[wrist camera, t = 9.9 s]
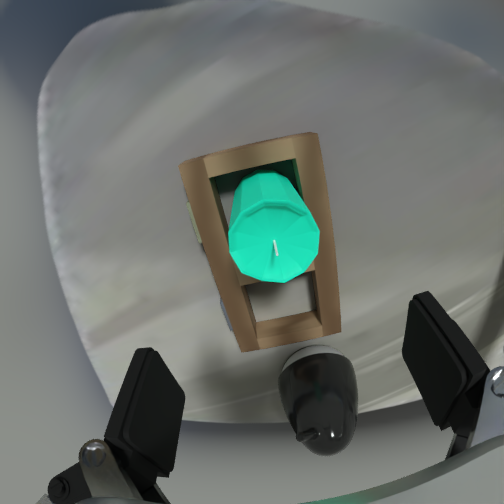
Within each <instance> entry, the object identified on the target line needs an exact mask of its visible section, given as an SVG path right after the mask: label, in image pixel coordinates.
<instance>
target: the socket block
mask: <svg viewBox="0 0 504 504" xmlns="http://www.w3.org/2000/svg"><path fill="white" fill-rule="evenodd" d="M288 159H292V164H293V168H294V173H295V178H296V184H297V189H298V194H299V196H300V197H301V199H302V200H303V202H304V203H305V205H306V206H307V208H308V209H309V211H310V212H311V214H312V216H313V218H314V220H315V222H316V224H317V226H318V228H319V231H320V234H319V247H318V254H317V256H316V257H315V258H314V260H313V261H312V263H311V264H310V265H309V267H308V268H307V270H306V271H305V272H308V271H311V272H312V279H313V286H314V293H315V300H316V308H317V310H314V311H309V312H305V313H300V314H296V315H291V316H286V317H281V318H277V319H272V320H266V321H261V322H256V320H255V317H254V313H253V310H252V307H251V303H250V300H249V297H248V293H247V290H246V286H245V285H247V284H252V283H257V282H262V281H261V280H258V279H256V278H253V277H251V276H248V275H245V274H243V273H241V271H240V270H239V268H238V266H237V265H236V263H235V261H234V260H233V258H232V256H231V255H230V253H229V236H228V231H229V228H228V224H227V221H226V217H225V214H224V210H223V207H222V203H221V200H220V196H219V192H218V189H217V185H216V182H215V178H214V176H218V175H222V174H226V173H230V172H234V171H238V170H242V169H247V168H251V167H255V166H260V165H264V164H269V163H274V162H278V161H283V160H288ZM178 167H179V170H180V173H181V177H182V180H183V183H184V187H185V190H186V193H187V196H188V202H187V203H186V205H187V208H188V211H189V214H190V217H191V220H192V223H193V227H194V230H195V233H196V236H197V239H198V242H199V243H203V246H204V249H205V252H206V255H207V258H208V261H209V264H210V267H211V270H212V273H213V276H214V279H215V281H216V284H217V287H218V290H219V293H220V296H221V299H220V304H221V307H222V310H223V312H224V315H225V318H226V320H227V323H228V326H229V328H230V331H231V330H233V331H234V334H235V336H236V339H237V342H238V344H239V347H240V350H241V352H248V351H254V350H259V349H265V348H271V347H276V346H281V345H286V344H291V343H296V342H301V341H305V340H310V339H314V338H319V337H323V336H327V335H331V334H335V333H339V332H341V315H340V299H339V285H338V274H337V263H336V253H335V244H334V235H333V227H332V219H331V211H330V204H329V197H328V191H327V184H326V178H325V172H324V166H323V160H322V155H321V149H320V144H319V139H318V134H317V133H312V132H307V133H302V134H296V135H291V136H285V137H280V138H275V139H270V140H266V141H261V142H256V143H252V144H248V145H243V146H239V147H235V148H231V149H227V150H223V151H219V152H215V153H211V154H208V155H204V156H200V157H197V158H193V159H190V160H187V161H184V162H183V163H181V164H180V165H179V166H178Z"/></svg>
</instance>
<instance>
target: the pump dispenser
mask: <svg viewBox="0 0 504 504" xmlns="http://www.w3.org/2000/svg"><path fill="white" fill-rule="evenodd" d="M278 388H279V394H280V397H281V401H282V404H283V407H284V410H285V413H286V415H287V417H288V420H289V422H290V424H291V426H292V428H293V429H294V431H295V433H296V439H297V441H299V442H302V443H303V444H304V445H305V446H306V447H307V448H308V449H309V450H310V451H311V452H313V453H315V454H317V455H321V456H331V455H335V454H337V453H339V452H341V451H342V450H344V449H345V448H346V447H347V446H348V445H349V443H350V441H351V439H352V437H353V434H354V431H355V427H356V422H357V414H358V389H357V382H356V375H355V371H354V368H353V365H352V363H351V362H350V360H349V359H347V358H346V357H345V356H344V355H343V354H342V353H341V352H339V351H338V350H336V349H335V348H332V347H329V346H324V345H314V346H309V347H306V348H303V349H301V350H299V351H297V352H296V353H294V354H293V355H292V356H291V357H290V358H289V359H288V360H287V362H286V363H285V365H284V367H283V369H282V372H281V375H280V377H279V380H278Z"/></svg>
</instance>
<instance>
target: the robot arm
mask: <svg viewBox="0 0 504 504" xmlns="http://www.w3.org/2000/svg"><path fill="white" fill-rule="evenodd" d="M402 356H403V359H404V361H405V363H406V365H407V367H408V369H409V371H410V373H411V375H412V377H413V379H414V381H415V383H416V385H417V387H418V389H419V391H420V394H421V396H422V398H423V400H424V402H425V404H426V407H427V409H428V411H429V413H430V415H431V418H432V420H433V422H434V424H435V425H436V426H438V425H439V427H440V429H441V431H442V430H444V429H446V428H448V427H450V426H451V427H452V430H453V432H454V436H453V439H452V442H451V444H450V448H449V450H448V453H447V455H446V458H445V460H444V461H442V462H440V463H438V464H435V465H433V466H431V467H428V468H426V469H424V470H421V471H419V472H416V473H414V474H411V475H409V476H406V477H403V478H401V479H398V480H395V481H392V482H389V483H386V484H383V485H380V486H377V487H373V488H370V489H367V490H363V491H359V492H356V493H352V494H347V495H343V496H339V497H335V498H329V499H324V500H319V501H313V502H306V503H300V504H504V366H500V367H496V368H494V369H493V370H491V371H490V369H489V368H488V366H487V365H486V363H485V362H484V360H483V359H482V357H481V356H480V355H479V353H478V352H477V350H476V349H475V347H474V346H473V345H472V343H471V342H470V341H469V339H468V338H467V336H466V335H465V334H464V332H463V331H462V330H461V328H460V327H459V326H458V324H457V323H456V322H455V321H454V320H452V319H451V318H450V317H449V315H448V314H447V313H446V311H445V310H444V309H443V308H442V306H441V305H440V304H439V303H438V301H437V300H436V299H435V298H434V297H433V295H432V294H431V293H430V292H429V291H426V292H422V293H419V294H416V295H414V296H413V299H412V300H410V302H409V308H408V316H407V323H406V330H405V336H404V342H403V347H402ZM184 404H185V394H184V391H183V390H182V388H181V387H180V386H179V384H178V383H177V381H176V380H175V378H174V376H173V375H172V373H171V372H170V370H169V369H168V367H167V366H166V364H165V362H164V361H163V359H162V358H161V356H160V354H159V353H158V352H157V351H154V349H153V348H151V347H149V348H138V349H136V351H135V353H134V356H133V358H132V361H131V363H130V366H129V368H128V371H127V373H126V376H125V378H124V381H123V384H122V386H121V389H120V392H119V394H118V397H117V400H116V403H115V405H114V408H113V411H112V414H111V417H110V420H109V423H108V426H107V429H106V432H105V435H104V437H105V438H104V441H103V440H100V439H92V440H89V441H88V442H86V443H85V444H84V445H83V446H82V447H81V449H80V452H79V462H78V463H76V464H75V465H73V466H72V467H70V468H68V469H67V470H65V471H63V472H62V473H60V474H58V475H56V476H55V477H54V478H53V479H51V481H50V483H49V486H48V494H49V495H47V494H45V495H43V497H42V498H41V499H40V500H39V501H38V502H37V503H36V504H171V503H170V502H169V501H168V499H167V498H166V497H165V495H164V494H163V492H162V491H161V489H160V488H159V486H158V485H157V483H156V478H157V476H158V477H168V478H169V474H170V472H171V471H172V470H173V468H174V463H175V457H176V450H177V444H178V438H179V432H180V426H181V421H182V415H183V409H184Z"/></svg>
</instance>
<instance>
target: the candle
mask: <svg viewBox="0 0 504 504" xmlns="http://www.w3.org/2000/svg"><path fill="white" fill-rule="evenodd" d="M319 234H320V231H319V228H318V226H317V224H316V222H315V220H314V218H313V216H312V214H311V212H310V211H309V209H308V208H307V206H306V205H305V203H304V202H303V200H302V199H301V197H300V196H299V194H298V193H297V191H296V190H295V188H294V187H293V185H292V184H291V183H290V181H289V180H288V178H286V177H285V176H283V175H281V174H280V173H278V172H276V171H275V170H256V171H254V172H252V173H250V174H249V175H247V176H245V177H243V178H242V180H241V182H240V183H239V185H238V187H237V189H236V190H235V194H234V200H233V206H232V212H231V218H230V225H229V231H228V236H229V253H230V255H231V256H232V258H233V260H234V261H235V263H236V265H237V266H238V268H239V270H240V271H241V273H243V274H245V275H248V276H251V277H253V278H256V279H258V280H261V281H269V282H280V283H285V282H287V281H289V280H291V279H293V278H295V277H296V276H298V275H300V274H302V273H304V272H305V271H306V270H307V268H308V267H309V265H310V264H311V263H312V261H313V260H314V258H315V257H316V256H317V254H318V247H319Z"/></svg>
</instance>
